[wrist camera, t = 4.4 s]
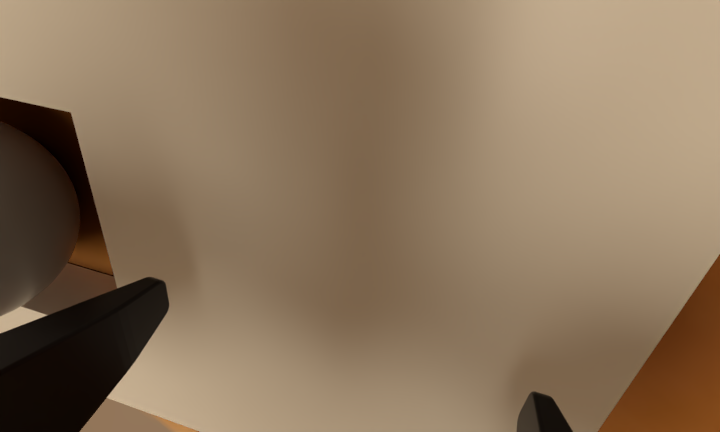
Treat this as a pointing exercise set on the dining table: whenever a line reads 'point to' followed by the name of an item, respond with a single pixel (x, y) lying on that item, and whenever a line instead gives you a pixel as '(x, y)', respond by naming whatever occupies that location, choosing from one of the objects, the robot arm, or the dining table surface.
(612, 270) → the deck
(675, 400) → the dining table surface
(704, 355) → the dining table surface
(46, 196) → the ball
